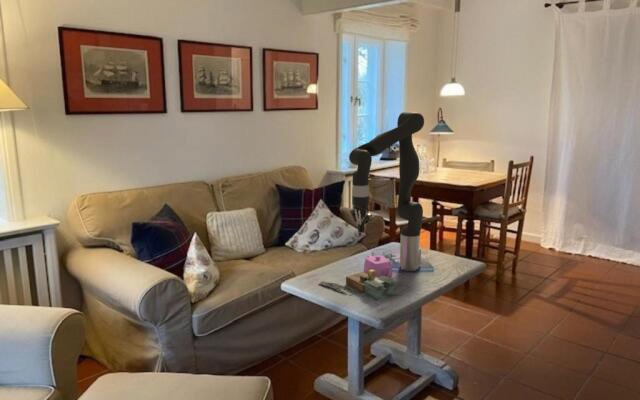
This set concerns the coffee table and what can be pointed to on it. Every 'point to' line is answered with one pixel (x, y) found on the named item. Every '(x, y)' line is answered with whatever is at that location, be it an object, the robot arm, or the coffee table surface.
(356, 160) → the robot arm
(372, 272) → the yellow-capped grey beam
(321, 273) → the coffee table surface
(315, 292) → the coffee table surface
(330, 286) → the driftwood
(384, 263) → the teapot
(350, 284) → the block set
